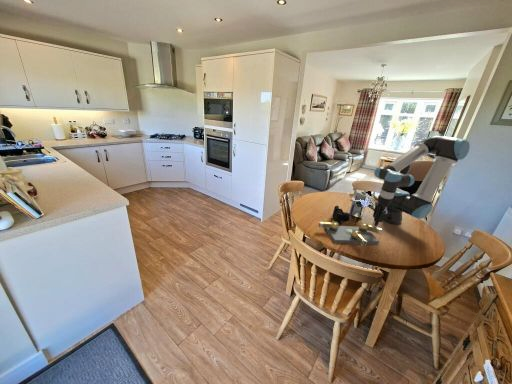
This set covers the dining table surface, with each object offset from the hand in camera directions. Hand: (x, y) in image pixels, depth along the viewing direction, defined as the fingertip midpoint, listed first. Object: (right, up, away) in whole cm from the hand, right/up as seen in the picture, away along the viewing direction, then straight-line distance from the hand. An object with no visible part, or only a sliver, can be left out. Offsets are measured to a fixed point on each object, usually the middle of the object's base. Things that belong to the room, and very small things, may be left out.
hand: (373, 228), depth 135 cm
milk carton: (-1, +6, +25) cm, 26 cm away
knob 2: (-3, -2, 0) cm, 3 cm away
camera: (-16, +3, +14) cm, 22 cm away
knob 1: (-30, 0, 0) cm, 30 cm away
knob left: (-15, -5, -11) cm, 20 cm away
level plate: (-16, -4, -2) cm, 17 cm away
